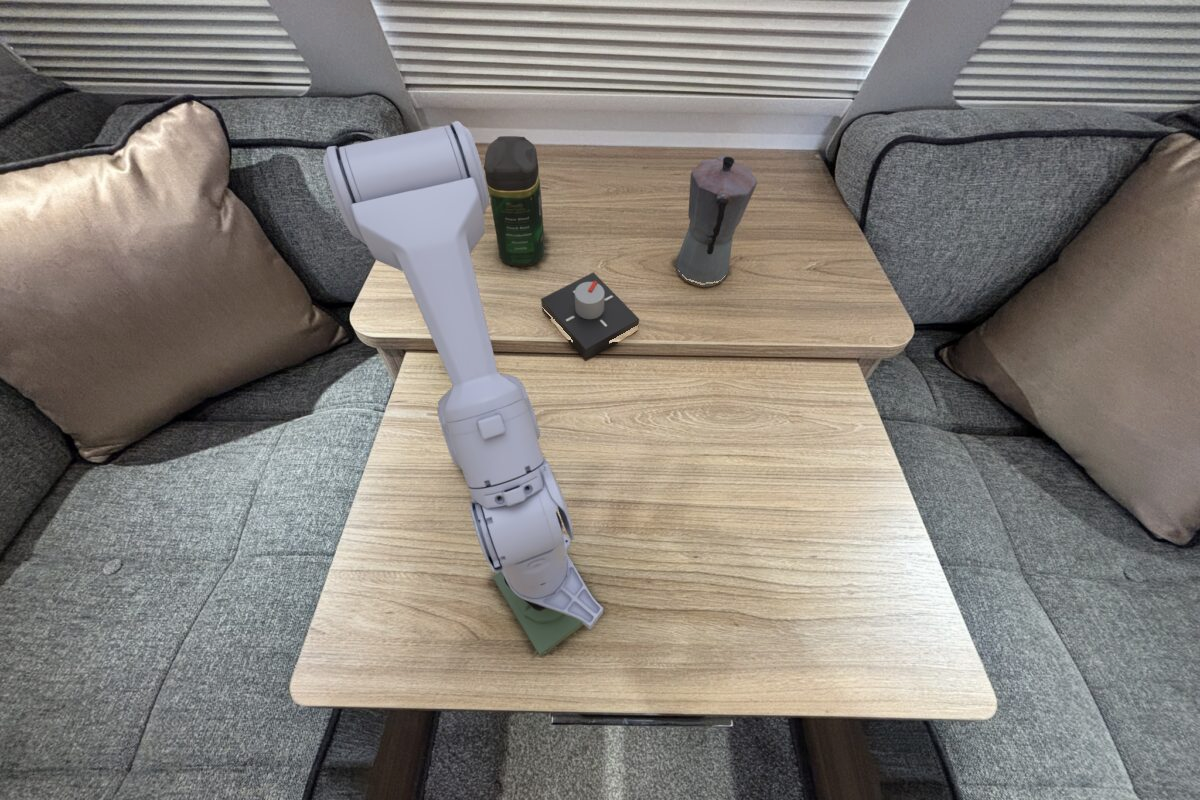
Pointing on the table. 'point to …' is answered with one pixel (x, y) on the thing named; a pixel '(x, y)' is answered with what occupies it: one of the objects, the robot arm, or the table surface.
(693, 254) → the moka pot
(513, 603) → the base
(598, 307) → the temp dial
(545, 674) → the table surface
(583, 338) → the dial panel
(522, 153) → the coffee jar
